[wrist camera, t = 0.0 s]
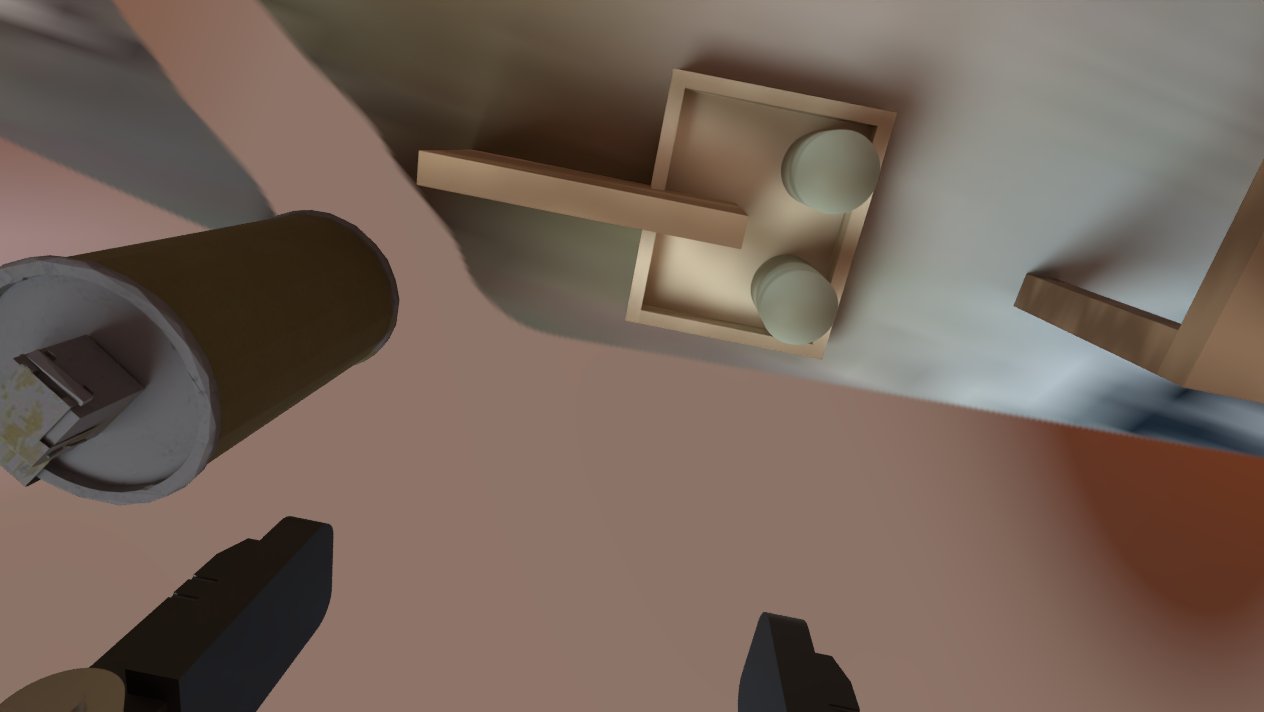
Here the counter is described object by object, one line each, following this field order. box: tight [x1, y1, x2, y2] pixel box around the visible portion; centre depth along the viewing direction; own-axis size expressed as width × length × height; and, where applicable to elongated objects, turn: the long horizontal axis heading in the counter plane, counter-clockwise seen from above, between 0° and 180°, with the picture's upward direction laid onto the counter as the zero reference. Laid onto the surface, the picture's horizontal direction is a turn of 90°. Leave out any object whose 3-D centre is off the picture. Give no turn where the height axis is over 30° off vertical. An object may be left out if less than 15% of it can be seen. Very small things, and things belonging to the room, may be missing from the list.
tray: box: [417, 68, 897, 360], centre depth 34 cm, size 14×23×8 cm, turn 79°
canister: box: [0, 210, 399, 505], centre depth 31 cm, size 11×10×20 cm
